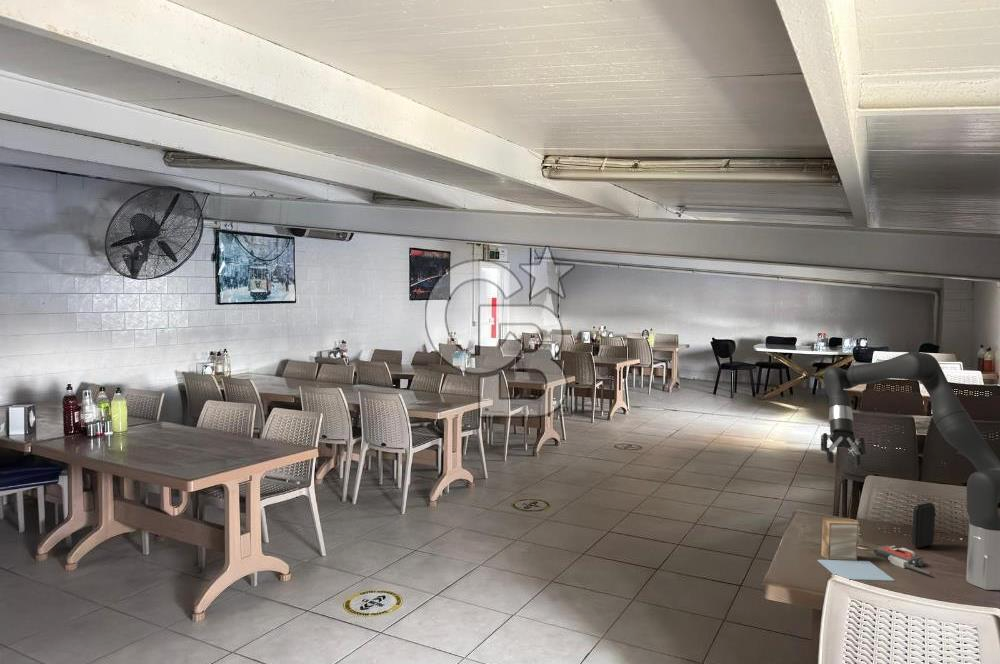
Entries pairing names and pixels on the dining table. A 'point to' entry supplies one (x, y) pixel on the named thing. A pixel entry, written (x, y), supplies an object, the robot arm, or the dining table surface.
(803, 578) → the dining table surface
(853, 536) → the wood grain block
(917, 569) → the walkie-talkie
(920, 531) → the carrying case or bag
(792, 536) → the dining table surface
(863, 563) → the mat
